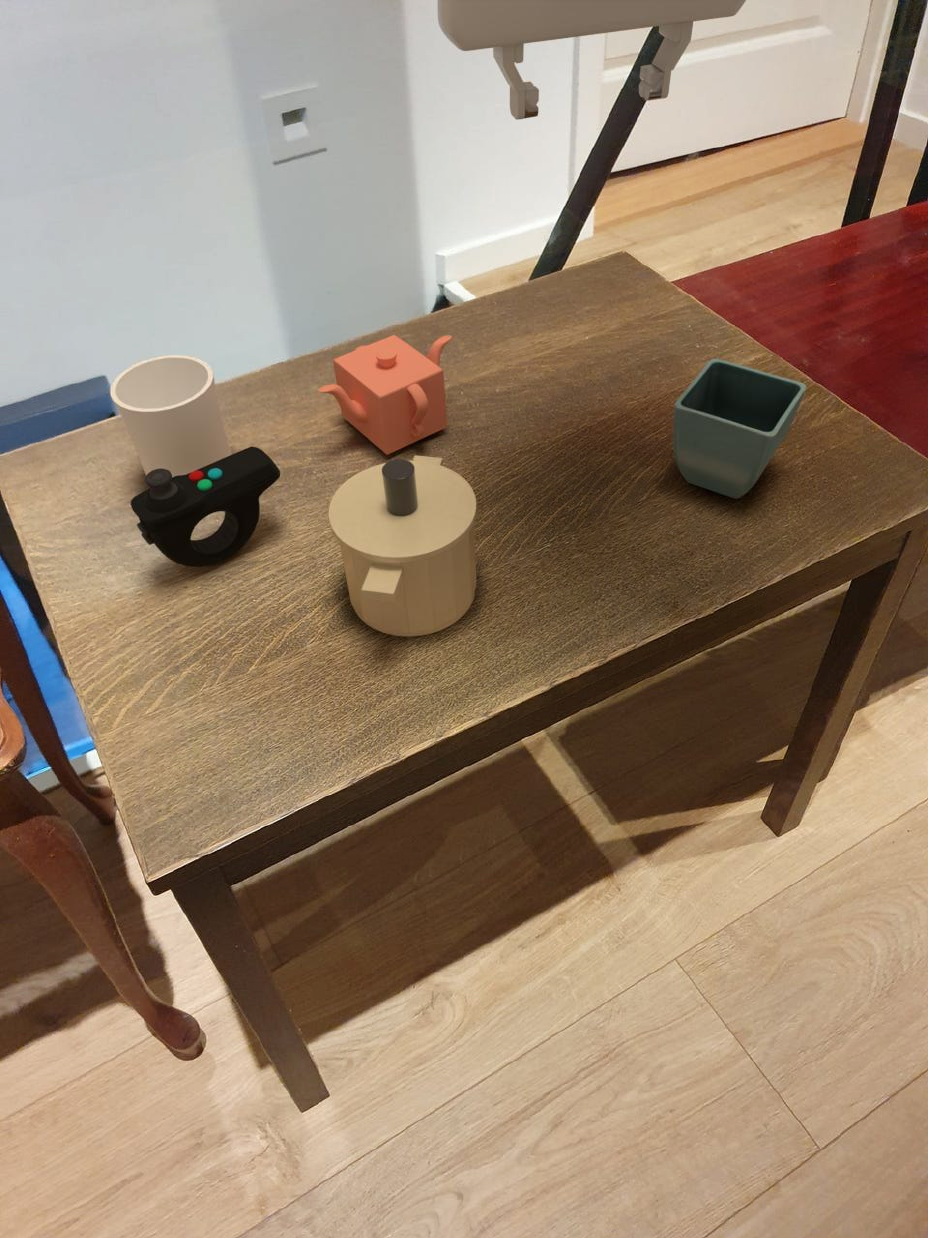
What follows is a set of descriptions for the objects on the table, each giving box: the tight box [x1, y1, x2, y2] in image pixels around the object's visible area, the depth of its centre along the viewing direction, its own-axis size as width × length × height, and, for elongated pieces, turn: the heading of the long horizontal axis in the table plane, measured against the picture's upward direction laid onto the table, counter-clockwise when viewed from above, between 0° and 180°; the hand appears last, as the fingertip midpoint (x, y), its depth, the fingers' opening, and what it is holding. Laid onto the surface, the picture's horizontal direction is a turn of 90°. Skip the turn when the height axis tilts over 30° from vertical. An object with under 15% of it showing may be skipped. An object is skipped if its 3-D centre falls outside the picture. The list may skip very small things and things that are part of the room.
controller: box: [130, 446, 281, 568], centre depth 74 cm, size 4×12×10 cm, turn 128°
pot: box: [338, 455, 477, 638], centre depth 71 cm, size 10×16×8 cm, turn 168°
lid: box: [327, 458, 478, 563], centre depth 66 cm, size 11×11×5 cm
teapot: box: [317, 334, 453, 456], centre depth 87 cm, size 12×15×8 cm
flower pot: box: [672, 358, 807, 500], centre depth 79 cm, size 9×9×9 cm
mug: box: [110, 354, 232, 478], centre depth 82 cm, size 11×9×10 cm
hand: (589, 106), depth 61 cm, fingers open, 8 cm apart
